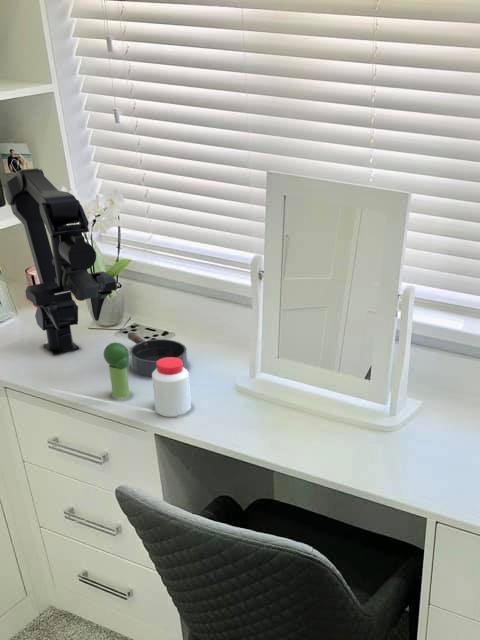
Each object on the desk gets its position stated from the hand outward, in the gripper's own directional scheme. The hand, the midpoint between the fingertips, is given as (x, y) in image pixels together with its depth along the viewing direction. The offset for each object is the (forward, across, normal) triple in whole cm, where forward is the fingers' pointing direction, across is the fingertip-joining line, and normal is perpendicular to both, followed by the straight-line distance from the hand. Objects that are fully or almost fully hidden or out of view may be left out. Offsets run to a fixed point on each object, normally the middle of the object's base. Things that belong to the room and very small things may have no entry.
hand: (77, 324), depth 176 cm
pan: (+12, +16, -8) cm, 21 cm away
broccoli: (+12, +1, -15) cm, 19 cm away
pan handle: (+9, +16, +2) cm, 18 cm away
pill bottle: (+12, +7, -27) cm, 30 cm away
